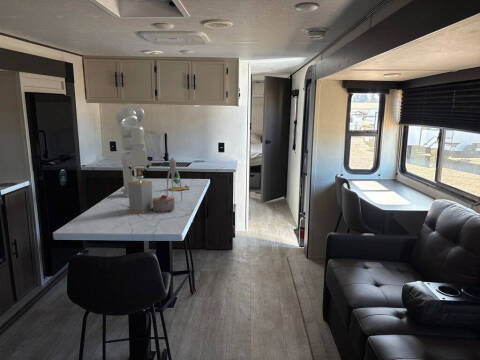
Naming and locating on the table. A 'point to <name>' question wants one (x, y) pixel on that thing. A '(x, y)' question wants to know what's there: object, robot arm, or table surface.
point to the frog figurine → (176, 188)
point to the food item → (163, 203)
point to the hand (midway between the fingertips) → (139, 176)
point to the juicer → (172, 168)
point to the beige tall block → (140, 196)
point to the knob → (139, 174)
